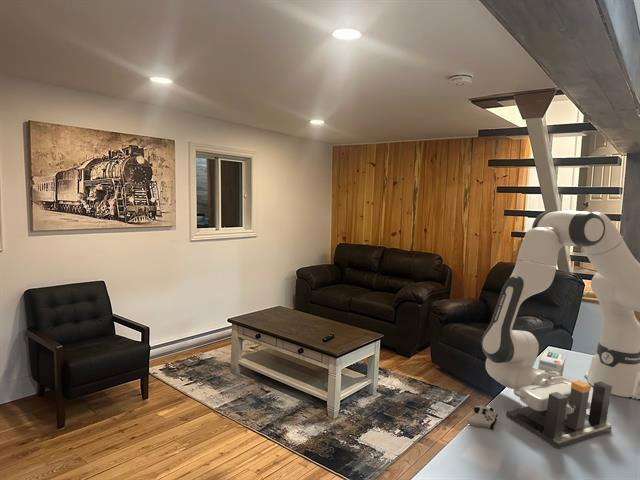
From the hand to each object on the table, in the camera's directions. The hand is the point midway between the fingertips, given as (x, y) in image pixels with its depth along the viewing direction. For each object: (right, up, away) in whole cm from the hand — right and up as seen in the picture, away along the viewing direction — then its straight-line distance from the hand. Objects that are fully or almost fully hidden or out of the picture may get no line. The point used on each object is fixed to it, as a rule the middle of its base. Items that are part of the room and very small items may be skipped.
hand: (580, 408), depth 114 cm
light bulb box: (+6, -4, +28) cm, 29 cm away
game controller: (-24, -6, +5) cm, 25 cm away
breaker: (-1, -5, +2) cm, 6 cm away
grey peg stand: (-3, -7, +6) cm, 9 cm away
